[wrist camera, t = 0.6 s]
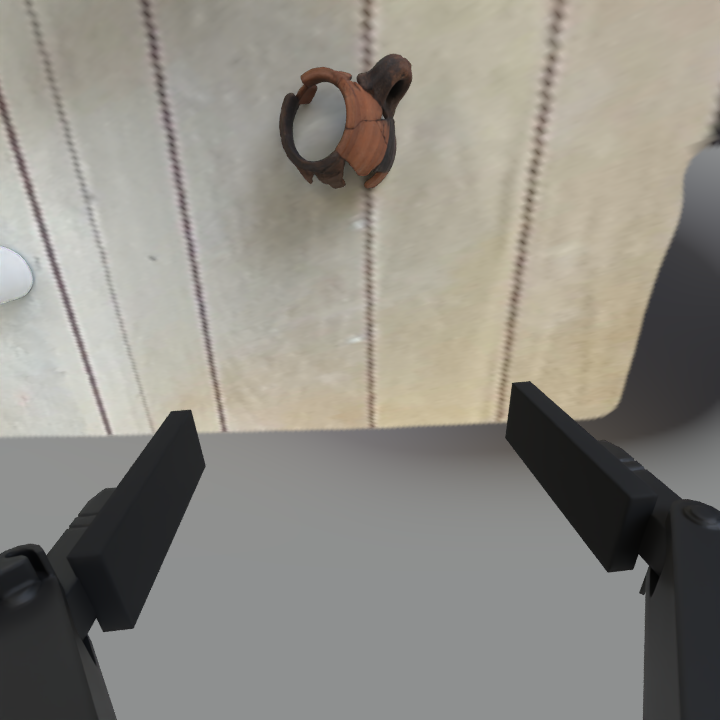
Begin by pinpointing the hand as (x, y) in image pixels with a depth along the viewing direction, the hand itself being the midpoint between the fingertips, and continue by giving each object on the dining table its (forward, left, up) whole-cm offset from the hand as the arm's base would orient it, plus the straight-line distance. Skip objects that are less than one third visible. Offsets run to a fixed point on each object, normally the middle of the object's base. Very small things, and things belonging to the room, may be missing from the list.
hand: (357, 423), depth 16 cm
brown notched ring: (-15, +1, -27) cm, 31 cm away
